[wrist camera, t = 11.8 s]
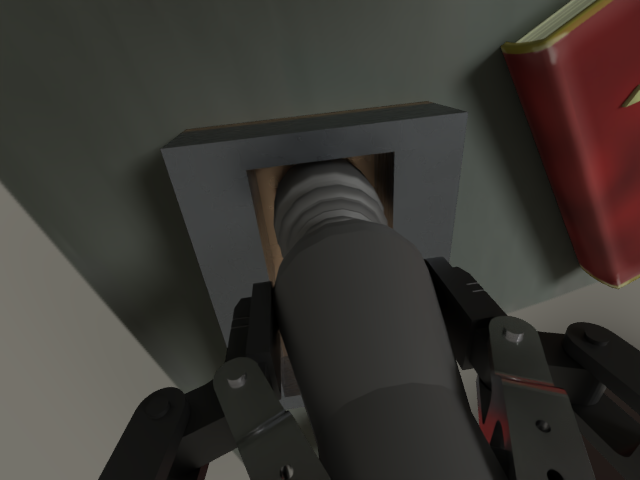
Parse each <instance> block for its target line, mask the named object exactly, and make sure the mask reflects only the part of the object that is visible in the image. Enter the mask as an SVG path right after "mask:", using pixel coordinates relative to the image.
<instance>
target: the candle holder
mask: <svg viewBox="0 0 640 480" xmlns="http://www.w3.org/2000/svg"><path fill="white" fill-rule="evenodd" d="M274 229H275V234H276V238H277V243H278V245H279V246H280V249H281V254H282V258H283V260H282V262H281V264H280V266H279V269H278V273H277V277H276V281H275V285H274V288H273V305H274V311H275V315H276V319H277V323H278V327H279V330H280V333H281V336H282V339H283V342H284V345H285V348H286V351H287V354H288V357H289V360H290V363H291V366H292V369H293V372H294V375H295V378H296V381H297V385H298V388H299V391H300V394H301V397H302V400H303V403H304V406H305V409H306V412H307V415H308V418H309V422H310V425H311V428H312V431H313V434H314V437H315V440H316V443H317V446H318V453H319V460H320V462H321V463H322V465H323V467H324V468H325V470H326V472H327V473H328V475H330V476H331V477H332V479H333V480H508V478H507V476H506V474H505V472H504V471H503V469H502V467H501V465H500V463H499V461H498V460H497V458H496V456H495V454H494V452H493V450H492V449H491V447H490V445H489V443H488V441H487V439H486V438H485V436H484V434H483V432H482V430H481V428H480V427H479V425H478V423H477V421H476V420H475V418H474V416H473V414H472V412H471V409H470V406H469V402H468V399H467V396H466V392H465V389H464V386H463V382H462V379H461V375H460V372H459V369H458V366H457V362H456V359H455V355H454V352H453V348H452V345H451V342H450V338H449V335H448V332H447V328H446V325H445V322H444V318H443V315H442V311H441V308H440V304H439V301H438V297H437V294H436V290H435V287H434V283H433V280H432V276H431V274H430V272H429V270H428V268H427V266H426V264H425V261H424V259H423V257H422V255H421V253H420V252H419V250H418V249H417V248H416V246H415V245H414V244H413V243H411V242H410V241H408V240H407V239H406V238H404V237H403V236H402V235H400V234H399V233H398V232H396V231H395V230H393V229H392V228H390V227H388V224H387V219H386V217H385V215H384V207H383V205H382V203H381V201H380V199H379V197H378V195H377V193H376V191H375V189H374V188H373V187H372V185H371V184H370V183H369V181H368V180H367V178H366V177H365V176H364V174H363V173H362V172H361V171H360V170H359V169H358V168H357V167H355V166H354V165H353V164H351V163H350V162H349V161H348V160H346V159H342V158H339V159H331V160H323V161H315V162H307V163H299V164H296V165H294V166H292V167H291V168H289V170H288V171H287V172H286V174H285V175H284V177H283V178H282V179H281V181H280V182H279V183H278V187H277V191H276V196H275V200H274Z"/></svg>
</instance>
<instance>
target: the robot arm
mask: <svg viewBox="0 0 640 480" xmlns="http://www.w3.org/2000/svg"><path fill="white" fill-rule="evenodd" d="M424 261H425V264H426V266H427V268H428V270H429V272H430V274H431V276H432V280H433V283H434V287H435V290H436V294H437V297H438V301H439V304H440V308H441V311H442V315H443V318H444V322H445V325H446V328H447V332H448V335H449V338H450V342H451V345H452V348H453V352H454V355H455V359H456V360H457V362H458V363H459V365H460V367H461V369H462V370H466V369H472V368H474V369H475V370H476V372H477V374H478V375H477V380H476V387H477V399H478V413H479V427H480V428H481V430H482V432H483V434H484V436H485V438H486V439H487V441H488V443H489V445H490V447H491V449H492V450H493V452H494V454H495V456H496V458H497V460H498V461H499V463H500V465H501V467H502V469H503V471H504V472H505V474H506V476H507V478H508V480H596V479H595V476H594V473H593V470H592V467H591V464H590V461H589V458H588V455H587V452H586V449H585V446H584V443H583V440H582V437H581V434H582V435H583V436H584V437H585V438H586V439H587V440H588V441H589V442H590V443H591V444H592V445H593V446H594V447H595V448H596V449H597V450H598V451H599V452H600V453H601V454H602V455H603V456H604V457H605V458H606V459H607V460H608V462H609V463H610V464H611V465H612V466H613V467H614V468H615V469H616V470H617V471H618V472H619V473H620V474H621V475H622V476H623V477H624V478H625V479H626V480H640V424H639V423H637V422H636V421H635V420H634V419H633V418H632V417H631V416H629V415H628V414H627V413H626V412H625V411H624V410H623V409H621V408H620V407H619V406H618V405H617V404H616V403H615V402H613V401H612V400H611V399H610V398H609V397H608V396H606V395H605V394H604V391H605V389H606V387H607V388H608V389H610V390H611V391H612V392H613V393H614V394H615V395H617V396H618V397H619V398H620V399H621V400H623V401H624V402H625V403H626V404H627V405H629V406H630V407H631V408H632V409H633V410H634V411H636V412H637V413H638V414H639V415H640V351H639V350H637V349H636V348H635V347H633V346H632V345H630V344H629V343H628V342H626V341H625V340H623V339H622V338H620V337H619V336H617V335H616V334H614V333H613V332H611V331H609V330H608V329H606V328H604V327H601V326H599V325H595V324H591V323H585V322H577V323H573V324H571V325H569V326H568V328H567V330H566V333H565V334H558V333H547V332H539V331H536V329H535V328H534V327H533V326H532V325H530V324H529V323H527V322H526V321H524V320H521V319H519V318H516V317H512V316H507V315H506V314H505V312H504V311H503V310H502V309H501V308H500V307H499V306H498V305H497V304H496V302H495V301H494V300H493V299H492V298H491V297H490V296H489V295H488V294H487V292H486V291H484V290H483V288H482V287H481V286H480V285H479V284H477V281H476V280H475V279H474V278H473V277H472V276H471V275H470V274H469V273H468V272H466V271H464V270H462V269H461V268H459V267H452V266H451V265H450V264H449V263H448V262H447V260H446V259H445V258H444V257H435V258H428V259H424ZM273 288H274V286H273V282H272V281H267V282H260V283H254V284H253V289H252V297H247V298H241V299H240V301H239V302H238V304H237V305H236V306H235V308H234V313H233V318H232V319H233V321H232V324H231V330H230V336H229V342H228V348H227V354H226V360H225V363H224V364H223V365H222V366H221V367H220V368H219V369H218V370H217V372H216V374H215V376H214V379H213V380H212V381H210V382H209V383H207V384H205V385H203V386H201V387H199V388H197V389H195V390H192V391H190V392H188V393H186V394H184V393H183V392H182V391H181V390H180V389H178V388H174V387H167V388H163V389H160V390H158V391H155V392H153V393H152V394H150V395H149V396H148V397H147V398H145V399H144V400H143V401H142V402H141V403H140V405H139V406H138V407H137V409H136V410H135V412H134V414H133V416H132V418H131V420H130V422H129V423H128V425H127V427H126V429H125V431H124V433H123V435H122V436H121V438H120V440H119V442H118V444H117V446H116V448H115V450H114V451H113V453H112V455H111V457H110V459H109V461H108V462H107V464H106V466H105V468H104V470H103V472H102V474H101V475H100V477H99V479H98V480H204V479H205V476H206V473H207V469H208V465H209V462H211V461H213V460H215V459H216V458H218V457H220V456H222V455H224V454H226V453H228V452H230V451H232V450H234V449H235V448H237V447H238V450H239V452H240V455H241V457H242V460H243V462H244V465H245V467H246V470H247V472H248V475H249V477H250V480H333V479H332V477H331V476H330V475H328V473H327V472H326V470H325V468H324V467H323V465H322V463H321V462H320V460H319V458H318V457H317V455H316V453H315V452H314V450H313V448H312V447H311V445H310V443H309V442H308V440H307V438H306V437H305V435H304V433H303V432H302V430H301V428H300V427H299V425H298V423H297V422H296V420H295V419H294V417H293V415H292V414H291V413H290V412H289V411H285V410H284V408H283V406H282V405H281V403H280V401H279V400H281V338H280V330H279V327H278V323H277V319H276V315H275V311H274V305H273ZM580 433H581V434H580Z"/></svg>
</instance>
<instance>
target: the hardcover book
mask: <svg viewBox="0 0 640 480" xmlns="http://www.w3.org/2000/svg"><path fill="white" fill-rule="evenodd" d="M500 47H501V49H502V52H503V55H504V58H505V60H506V63H507V66H508V69H509V72H510V74H511V77H512V80H513V83H514V85H515V88H516V91H517V94H518V96H519V99H520V102H521V105H522V107H523V110H524V113H525V116H526V118H527V121H528V124H529V127H530V129H531V132H532V135H533V138H534V140H535V143H536V146H537V149H538V151H539V154H540V157H541V160H542V162H543V165H544V168H545V171H546V173H547V176H548V179H549V182H550V184H551V187H552V190H553V193H554V195H555V198H556V201H557V204H558V207H559V209H560V212H561V215H562V218H563V220H564V223H565V226H566V229H567V231H568V234H569V237H570V240H571V242H572V245H573V248H574V251H575V253H576V256H577V259H578V262H579V264H580V267H581V268H582V269H583V270H584V271H585V272H586V273H588V274H589V275H590V276H591V277H593V278H594V279H596V280H598V281H599V282H601V283H603V284H606V285H608V286H610V287H612V288H618V289H620V288H621V287H623V286H625V285H627V284H629V283H631V282H632V281H634V280H636V279H638V278H640V0H571V1H570V2H569V3H567V4H566V5H565V6H563V7H562V8H561V9H559V10H558V11H557V12H555V13H554V14H553V15H551V16H550V17H549V18H548V19H546V20H545V21H544V22H542V23H541V24H540V25H538V26H537V27H536V28H534V29H533V30H532V31H530V32H529V33H528V34H526V35H525V36H524V37H522V38H521V39H520V40H518V41H517V42H516V43H510V42H505V43H504V44H503V45H502V46H500Z"/></svg>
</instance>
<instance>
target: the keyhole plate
mask: <svg viewBox="0 0 640 480" xmlns="http://www.w3.org/2000/svg"><path fill="white" fill-rule="evenodd" d="M467 117H468V112H466V111H462V110H458V109H455V108H451V107H447V106H443V105H440V104H436V103H432V102H428V101H424V102H416V103H407V104H399V105H390V106H382V107H373V108H365V109H356V110H348V111H339V112H331V113H322V114H314V115H305V116H297V117H288V118H280V119H271V120H263V121H254V122H246V123H237V124H229V125H220V126H212V127H203V128H195V129H186V130H185V131H184V132H182V133H181V134H180V135H178V136H177V137H176V138H174V139H173V140H172V141H170V142H169V143H168V144H166V145H165V146H164V147H162V148H161V149H160V150H161V153H162V156H163V159H164V162H165V165H166V168H167V170H168V173H169V176H170V179H171V182H172V185H173V188H174V191H175V194H176V197H177V200H178V203H179V206H180V209H181V212H182V215H183V218H184V221H185V224H186V227H187V230H188V233H189V236H190V239H191V242H192V245H193V248H194V251H195V254H196V257H197V260H198V263H199V266H200V269H201V272H202V275H203V278H204V281H205V283H206V286H207V289H208V292H209V295H210V298H211V301H212V304H213V307H214V310H215V313H216V316H217V319H218V322H219V325H220V328H221V331H222V334H223V337H224V340H225V343H226V346H227V348H228V342H229V336H230V330H231V324H232V321H233V319H232V318H233V313H234V308H235V306H236V305H237V304H238V302H239V301H240V299H241V298H247V297H252V289H253V284H254V283H260V282H267V281H272V282H273V286H274V285H275V281H276V277H277V273H278V269H279V266H280V264H281V262H282V260H283V258H282V254H281V249H280V246H279V245H278V243H277V238H276V234H275V229H274V200H275V196H276V191H277V187H278V183H279V182H280V181H281V179H282V178H283V177H284V175H285V174H286V172H287V171H288V170H289V168H291V167H292V166H294V165H296V164H299V163H307V162H315V161H323V160H331V159H339V158H342V159H346V160H348V161H349V162H350V163H351V164H353V165H354V166H355V167H357V168H358V169H359V170H360V171H361V172H362V173H363V174H364V176H365V177H366V178H367V180H368V181H369V183H370V184H371V185H372V187H373V188H374V189H375V191H376V193H377V195H378V197H379V199H380V201H381V203H382V205H383V207H384V215H385V217H386V219H387V224H388V227H390V228H392V229H393V230H395V231H396V232H398V233H399V234H400V235H402V236H403V237H404V238H406V239H407V240H408V241H410V242H411V243H413V244H414V245H415V246H416V248H417V249H418V250H419V252H420V253H421V255H422V257H423V259H428V258H435V257H444V258H445V259H446V260H447V262H448V263H449V259H450V251H451V243H452V235H453V227H454V219H455V211H456V204H457V196H458V188H459V180H460V172H461V164H462V156H463V148H464V140H465V133H466V125H467ZM280 338H281V400H279V401H280V403H281V405H282V406H283V408H284V410H286V409H292V408H298V407H304V403H303V400H302V397H301V394H300V391H299V388H298V385H297V381H296V378H295V375H294V372H293V369H292V366H291V363H290V360H289V357H288V354H287V351H286V348H285V345H284V342H283V339H282V336H281V333H280Z"/></svg>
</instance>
